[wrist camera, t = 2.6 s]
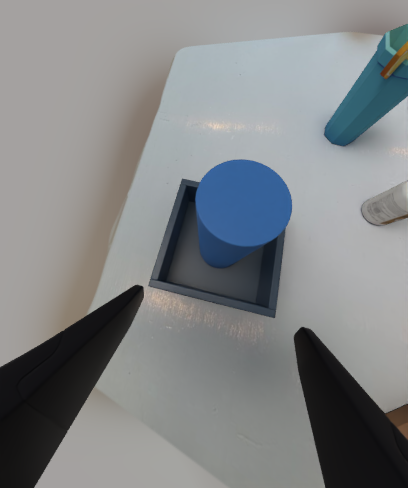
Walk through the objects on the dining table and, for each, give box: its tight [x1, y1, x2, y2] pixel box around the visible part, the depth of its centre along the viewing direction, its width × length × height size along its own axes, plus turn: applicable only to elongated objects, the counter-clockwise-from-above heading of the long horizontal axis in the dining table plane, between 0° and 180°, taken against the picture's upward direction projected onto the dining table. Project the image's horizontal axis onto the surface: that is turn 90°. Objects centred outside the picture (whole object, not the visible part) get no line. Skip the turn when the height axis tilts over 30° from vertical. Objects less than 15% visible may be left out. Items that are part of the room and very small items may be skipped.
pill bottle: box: [362, 181, 408, 225], centre depth 20 cm, size 4×4×8 cm
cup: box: [324, 24, 408, 146], centre depth 20 cm, size 14×8×15 cm, turn 141°
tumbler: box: [195, 160, 292, 268], centre depth 15 cm, size 6×6×13 cm
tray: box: [148, 179, 286, 318], centre depth 20 cm, size 14×14×5 cm
